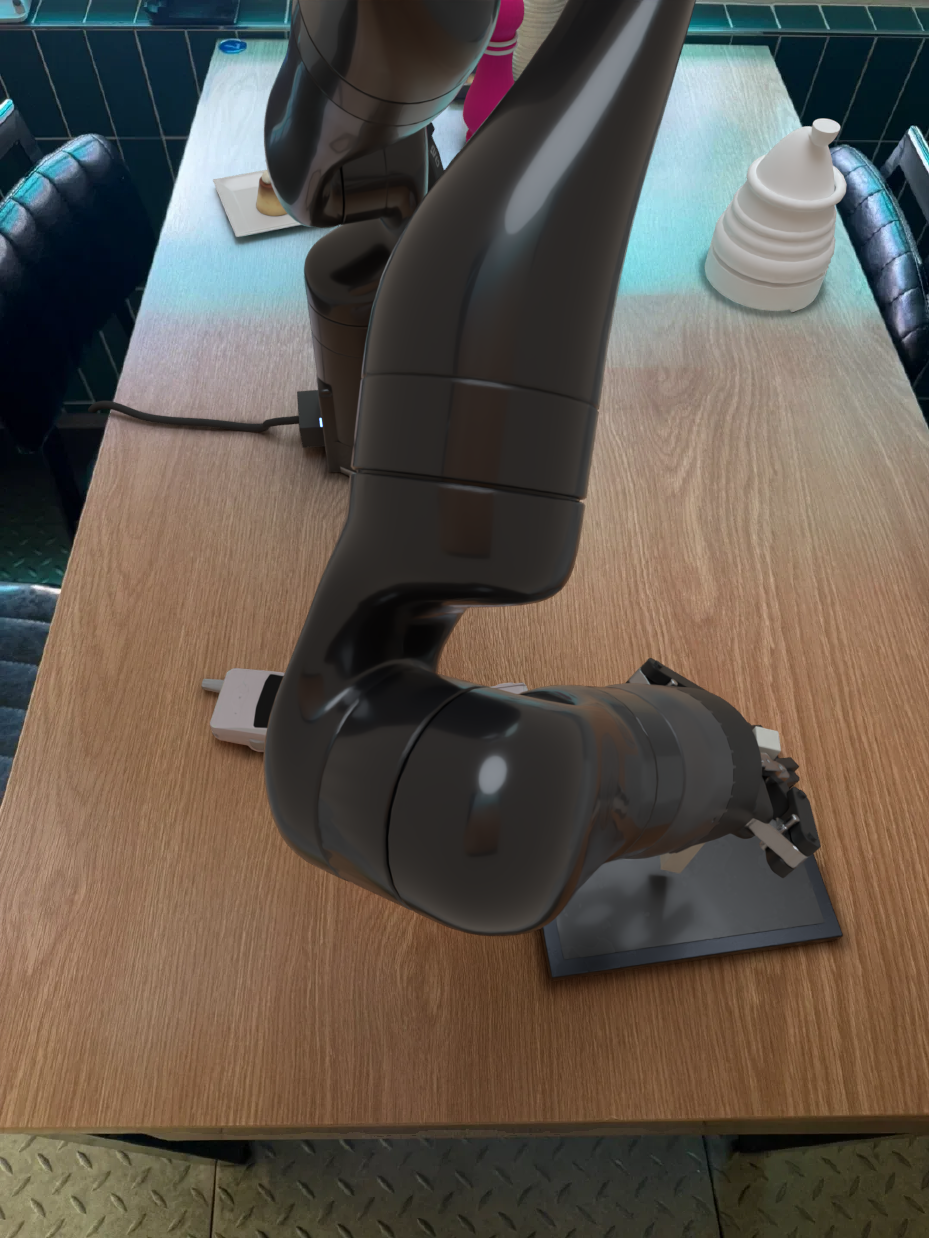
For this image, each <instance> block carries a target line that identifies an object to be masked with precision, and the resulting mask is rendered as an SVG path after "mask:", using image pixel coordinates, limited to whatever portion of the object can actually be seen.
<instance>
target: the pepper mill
mask: <svg viewBox="0 0 929 1238" xmlns="http://www.w3.org/2000/svg"><path fill="white" fill-rule="evenodd" d="M524 18H525V1H524V0H501V2H500V9H499V15H498V19H497V23H496V26H495V30H494V33H493V35H492V37H491V39H490V42H489V44H488V46H487V49H486V50H485V52H484V54H483V56H482V57H481V59H480V61H479V63H478V64H477V66H476V71H475V74H474V76H473V79H472V82H471V84H470V86H469V88H468V90H467V92H466V96H465V98H464V102H463V108H462V120H463V122H464V124H465V125H466V127H467V128H468V129H467V131H466V133H465V144H466V143H467V141H468V140H469V139H470V138H471V136H472V135H473V134H474V133H475V132H476V130H477V129H478V128H479V127H480V126H481V124H482V123H483V122H484V121H485V120H486V118H487V117H488V116H489V115H490V113H491V112H492V111H493V109H494V108H495V107H496V106H497V104H498V103H499V102H500V100H501V99H502V98H503V97H504V95H505V94H506V93H507V92H508V90H509V89H510V88H511V86H512V85H513V84H514V83H515V79H514V74H513V58H514V52H515V51H516V50H517V49H518V47H519V44H518V43H519V42H518V39H519V33H518V29H520V27H521V26H522V24H523V22H524Z"/></svg>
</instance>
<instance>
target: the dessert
mask: <svg viewBox="0 0 929 1238" xmlns="http://www.w3.org/2000/svg"><path fill="white" fill-rule="evenodd" d="M212 182H213V184H214V187H215V189H216V192H217V194H218V196H219V199H220V201H221V203H222V206H223V208H224V211H225V213H226V216H227V217H228V220H229V223H230V225H231V227H232V230H233V233H234V235H235V237H236V238H240V237H247V236H253V235H259V234H263V233H268V232H273V231H278V230H283V229H288V228H289V229H290V228H293V227H298V226H303V225H302V224H300V223H298V222H296V221H295V220H294V219H293V218H292V217H290V216H289V215H288V213H287V212H286V211H285V210H284V208H283V207H282V206H281V204H280V202H279V200H278V198H277V196H276V194H275V192H274V189H273V187H272V185H271V181H270V178H269V175H268V170H267V169H262V170H257V171H251V172H247V173H241V174H236V175H235V174H234V175H230V176H223V177H218V178H213V179H212Z"/></svg>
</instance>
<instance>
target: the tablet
mask: <svg viewBox="0 0 929 1238" xmlns="http://www.w3.org/2000/svg"><path fill="white" fill-rule="evenodd" d="M777 758H780V757H779V754H778V755H777V756H776V758H775V759H777ZM760 842H761V840H760V839H759V838H758V837H757V836H754V837H752V838H749V839H742V838H739V837H737V836H735V835H733V834H728V835H726V836H723V837H721V838H718V839H716V840H712V841H709V842H706V843H705V844H704V845H703V846H702V847H701V849H700V850H699V851H698V852H697V853H696V855H695V856H694V857H693V858H692V859H691V861H690V862H689V863H688V864H687V866H686V867H685V868H684V869H683V870H682V872H681V873H675V872H670V871H666V870H661V864H660V855H659V856H655V857H650V858H643V859H619V860H616V861H612V862H608V863H605V864H603V865H602V866H601V867H600V868H599V869H598V870H597V871H596V872H595V873H594V874H593V875H592V876H591V877H590V878H589V879H588V880H587V881H586V882H585V883H584V884H583V885H582V886H581V888H580V889H579V890H578V891H577V893H576V894H575V895H574V897H573V898H572V899H571V901H570V902H569V903H568V904H567V906H566V907H565V908H564V910H563V911H562V912H561V913H560V914H559V915H558V916H557V917H556V918H555V919H554V920H553V921H552V922H551V923H549V924H548V925H546V926H544V927H542V928H541V929H539V931H540V934H541V940H542V945H543V951H544V956H545V962H546V967H547V972H548V977H549V981H550V982H557V981H564V980H571V979H578V978H584V977H591V976H599V975H605V974H606V975H607V974H613V973H618V972H626V971H632V970H640V969H646V968H654V967H660V966H668V965H676V964H680V963H681V964H682V963H689V962H694V961H702V960H711V959H716V958H722V957H723V958H724V957H730V956H737V955H744V954H751V953H757V952H758V953H759V952H765V951H770V950H771V951H773V950H778V949H784V948H785V949H786V948H792V947H800V946H807V945H814V944H819V943H826V942H835V941H839V940H840V939H841V938H842V937H844V934H843V932H842V928H841V925H840V923H839V920H838V917H837V915H836V912H835V908H834V906H833V904H832V900H831V899H830V895H829V893H828V890H827V887H826V884H825V881H824V879H823V876H822V873H821V870H820V867H819V865H818V862H817V860H816V857H815V854H814V853H813V854H812V855H811V856H809V857H808V858H807V859H806V860H805V861H804V862H803V863H801V864H800V865H799V866H798V867H797V868H795V869H794V870H793V871H792V872H791V873H790V874H788V875H787V876H786V877H785V878H781V877H780V876H778V875H777V874H775V873H774V872H773V871H772V870H771V869H770V866H769V865H768V863H767V860H766V853H765V851H764V850H762V849H761V848H760V846H759V843H760Z"/></svg>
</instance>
